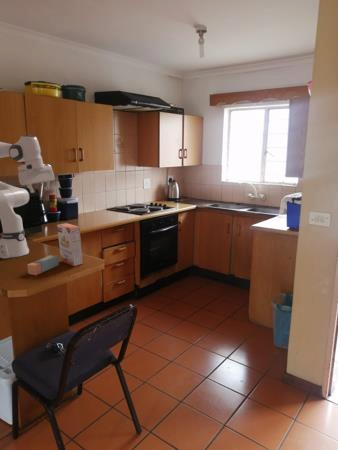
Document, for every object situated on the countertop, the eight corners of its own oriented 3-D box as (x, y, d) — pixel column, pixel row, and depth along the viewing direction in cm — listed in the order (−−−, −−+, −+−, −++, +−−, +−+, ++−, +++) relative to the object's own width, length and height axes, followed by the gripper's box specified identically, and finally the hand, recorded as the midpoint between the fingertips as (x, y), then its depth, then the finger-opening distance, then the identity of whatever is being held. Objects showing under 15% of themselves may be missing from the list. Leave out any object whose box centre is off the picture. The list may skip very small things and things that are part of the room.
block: (28, 274, 174) (27, 264, 172) (34, 271, 177) (33, 261, 176) (36, 275, 171) (34, 265, 170) (42, 272, 175) (40, 262, 174)
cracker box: (60, 261, 191) (56, 224, 187) (70, 259, 196) (66, 222, 191) (73, 267, 182) (69, 228, 177) (83, 264, 186) (79, 225, 181)
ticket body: (34, 271, 177) (33, 261, 176) (51, 264, 188) (50, 254, 187) (42, 272, 175) (41, 262, 174) (58, 264, 186) (57, 255, 185)
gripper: (47, 164, 197) (52, 188, 200) (14, 168, 181) (20, 194, 183) (54, 163, 193) (59, 187, 196) (21, 166, 177) (27, 193, 179)
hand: (40, 191), depth 189 cm, fingers open, 8 cm apart
